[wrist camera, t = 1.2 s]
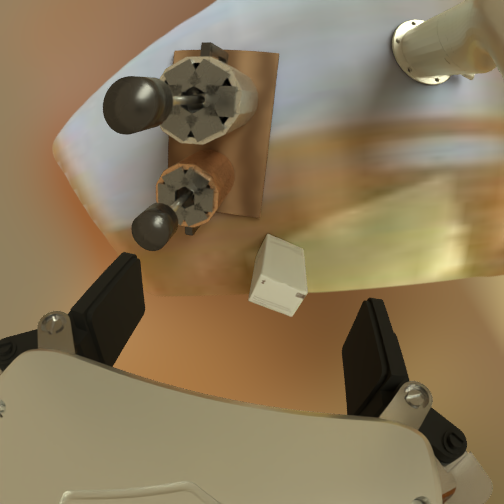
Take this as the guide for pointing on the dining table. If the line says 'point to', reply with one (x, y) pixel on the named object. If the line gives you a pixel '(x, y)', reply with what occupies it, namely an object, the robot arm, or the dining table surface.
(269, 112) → the walnut board
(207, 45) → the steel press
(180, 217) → the copper press
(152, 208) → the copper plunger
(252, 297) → the skincare box
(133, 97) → the steel plunger
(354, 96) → the dining table surface
